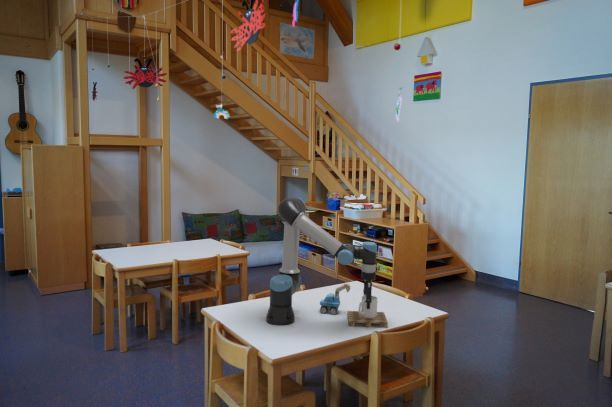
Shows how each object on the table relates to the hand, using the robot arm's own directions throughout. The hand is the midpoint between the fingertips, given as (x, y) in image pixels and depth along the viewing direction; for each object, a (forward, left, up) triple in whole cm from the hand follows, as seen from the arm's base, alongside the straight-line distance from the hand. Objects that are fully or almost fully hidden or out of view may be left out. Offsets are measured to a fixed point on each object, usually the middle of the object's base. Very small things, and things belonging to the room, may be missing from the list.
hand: (366, 310), depth 263 cm
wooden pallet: (0, 0, -6) cm, 6 cm away
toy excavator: (-17, +14, -6) cm, 23 cm away
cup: (0, -1, -3) cm, 3 cm away
